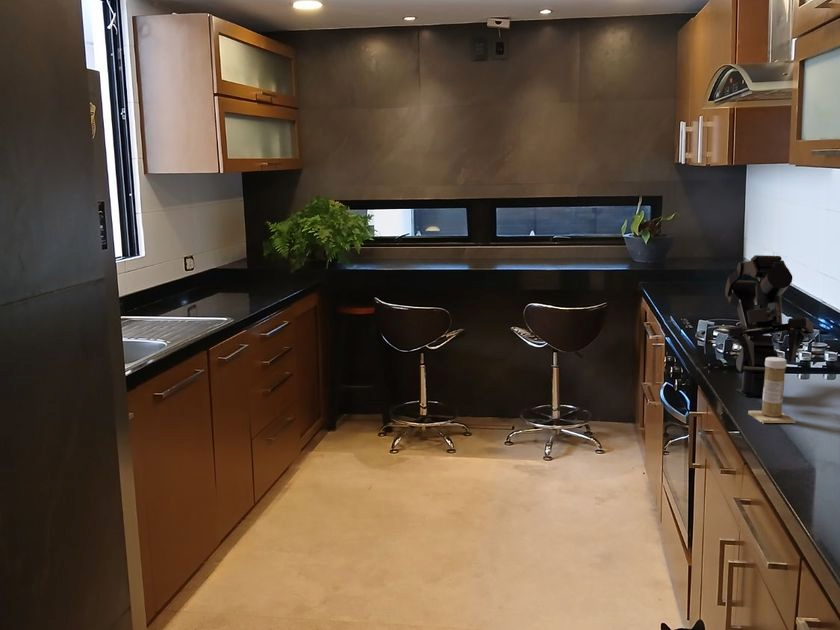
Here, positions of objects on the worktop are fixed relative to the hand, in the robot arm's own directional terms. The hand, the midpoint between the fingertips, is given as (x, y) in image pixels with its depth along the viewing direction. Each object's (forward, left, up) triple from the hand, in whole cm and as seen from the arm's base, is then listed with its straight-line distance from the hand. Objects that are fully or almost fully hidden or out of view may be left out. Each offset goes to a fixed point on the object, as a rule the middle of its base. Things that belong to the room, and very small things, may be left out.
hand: (771, 364), depth 201 cm
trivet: (+8, -3, -11) cm, 14 cm away
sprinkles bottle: (+8, -3, -11) cm, 13 cm away
